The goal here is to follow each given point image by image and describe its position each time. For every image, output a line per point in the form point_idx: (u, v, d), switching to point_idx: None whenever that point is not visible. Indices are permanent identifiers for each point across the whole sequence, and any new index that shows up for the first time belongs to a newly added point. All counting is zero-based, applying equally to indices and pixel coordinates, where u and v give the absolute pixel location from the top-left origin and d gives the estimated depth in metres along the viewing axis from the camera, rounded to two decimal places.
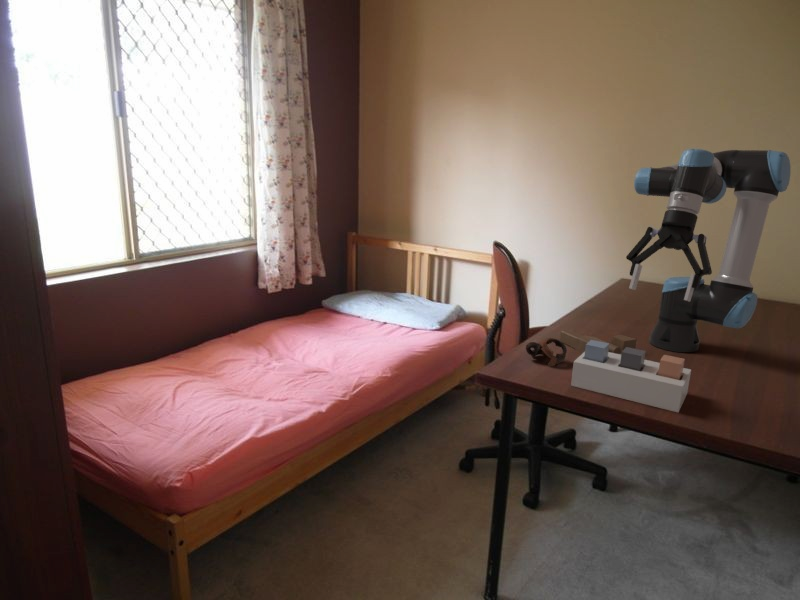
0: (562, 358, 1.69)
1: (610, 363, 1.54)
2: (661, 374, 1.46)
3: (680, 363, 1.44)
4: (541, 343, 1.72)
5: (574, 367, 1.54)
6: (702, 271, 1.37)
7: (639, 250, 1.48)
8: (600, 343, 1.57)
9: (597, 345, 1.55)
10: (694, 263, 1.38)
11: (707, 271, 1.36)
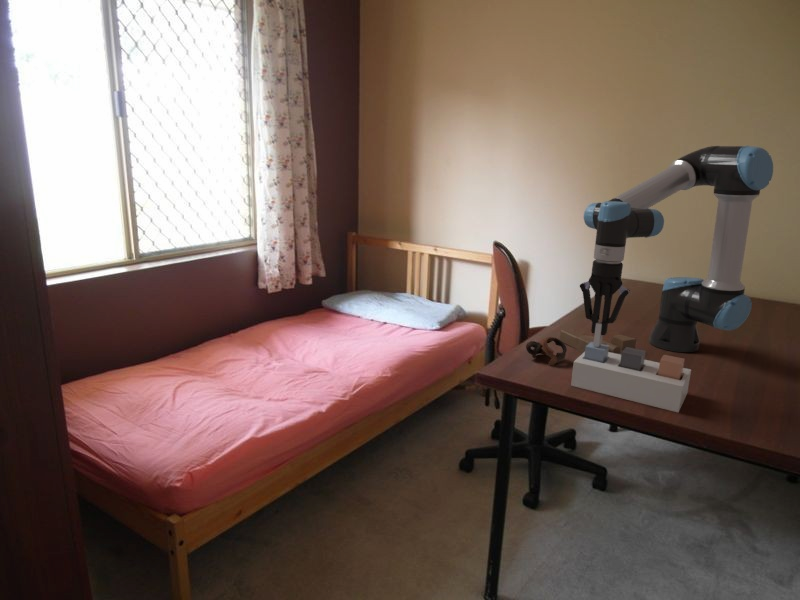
0: (562, 357, 1.70)
1: (610, 363, 1.54)
2: (661, 374, 1.46)
3: (680, 363, 1.44)
4: (541, 342, 1.73)
5: (574, 367, 1.54)
6: (607, 323, 1.53)
7: (590, 305, 1.55)
8: (600, 345, 1.57)
9: (597, 347, 1.55)
10: (606, 314, 1.52)
11: (611, 322, 1.52)
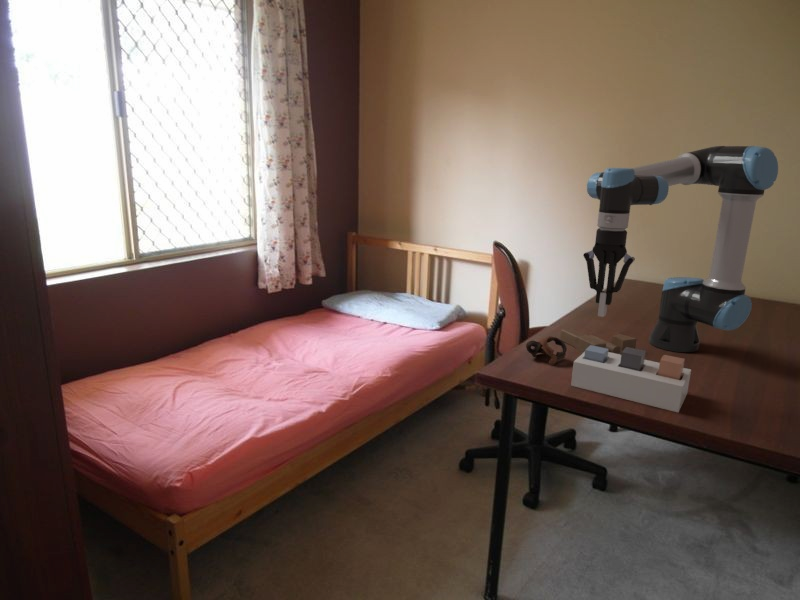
0: (562, 356, 1.71)
1: (610, 363, 1.54)
2: (661, 374, 1.46)
3: (680, 363, 1.44)
4: (541, 342, 1.73)
5: (574, 367, 1.54)
6: (612, 292, 1.51)
7: (594, 274, 1.53)
8: (599, 348, 1.57)
9: (596, 350, 1.56)
10: (610, 283, 1.50)
11: (616, 291, 1.50)
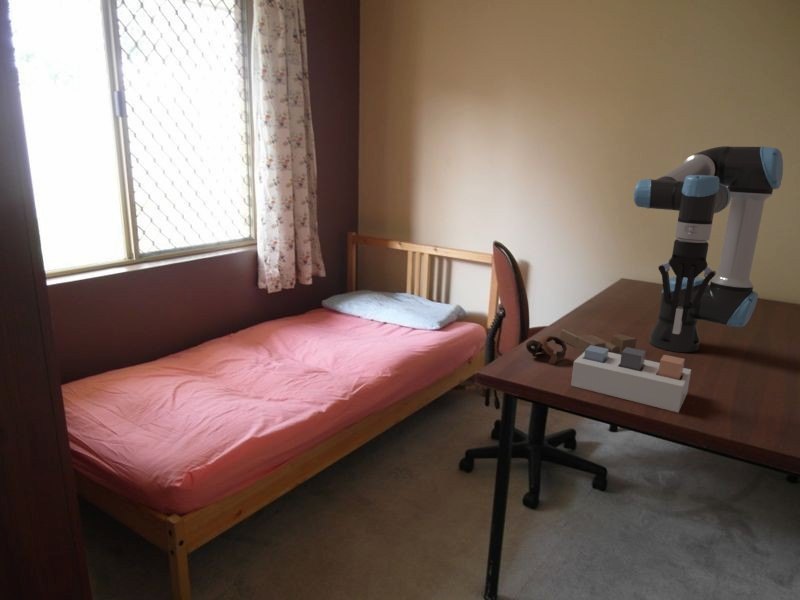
0: (562, 356, 1.71)
1: (610, 363, 1.54)
2: (661, 374, 1.46)
3: (680, 363, 1.44)
4: (541, 341, 1.74)
5: (574, 367, 1.54)
6: (689, 308, 1.41)
7: (669, 289, 1.43)
8: (599, 348, 1.57)
9: (596, 350, 1.56)
10: (688, 298, 1.40)
11: (694, 307, 1.40)
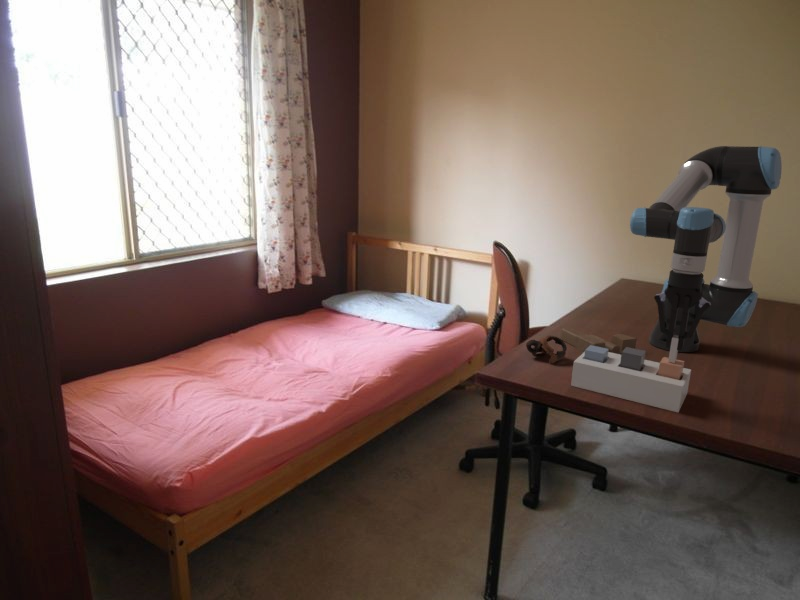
0: (562, 355, 1.72)
1: (610, 363, 1.54)
2: None
3: (680, 365, 1.44)
4: (541, 341, 1.74)
5: (574, 367, 1.54)
6: (685, 337, 1.43)
7: (665, 318, 1.45)
8: (599, 348, 1.57)
9: (596, 350, 1.56)
10: (683, 328, 1.42)
11: (689, 336, 1.42)
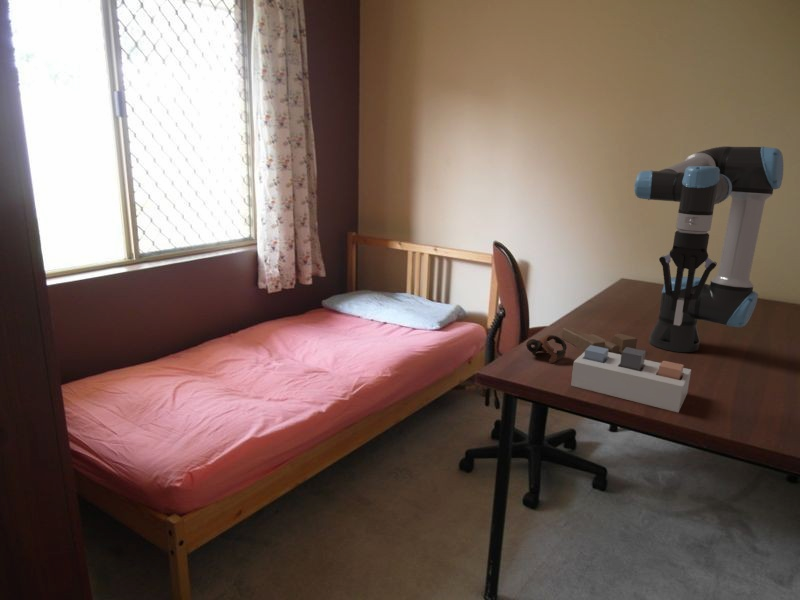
0: (562, 355, 1.72)
1: (610, 363, 1.54)
2: None
3: (679, 369, 1.44)
4: (541, 340, 1.74)
5: (574, 367, 1.54)
6: (690, 299, 1.41)
7: (670, 280, 1.43)
8: (599, 348, 1.57)
9: (596, 350, 1.56)
10: (689, 289, 1.40)
11: (695, 298, 1.40)
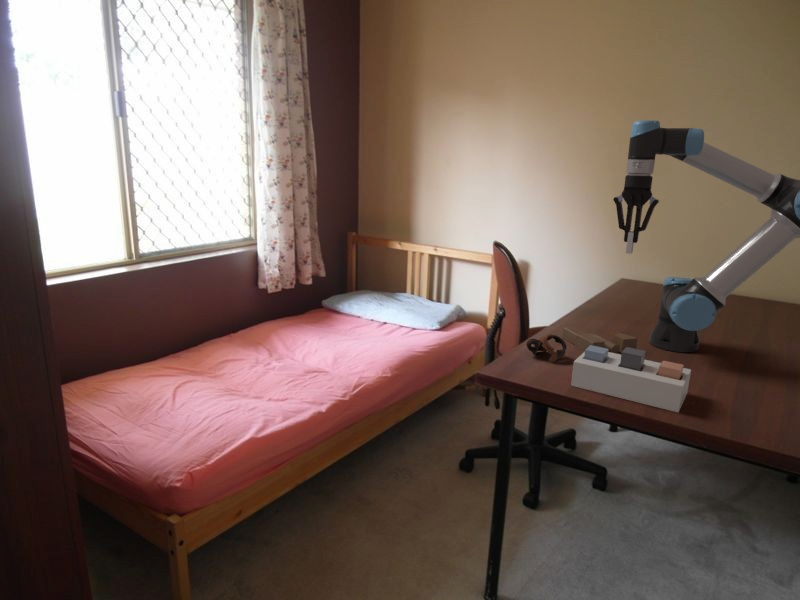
0: (562, 354, 1.73)
1: (610, 363, 1.54)
2: None
3: (679, 369, 1.44)
4: (541, 339, 1.75)
5: (574, 367, 1.54)
6: (639, 231, 1.72)
7: (622, 216, 1.75)
8: (599, 348, 1.57)
9: (596, 350, 1.56)
10: (637, 223, 1.71)
11: (642, 229, 1.71)
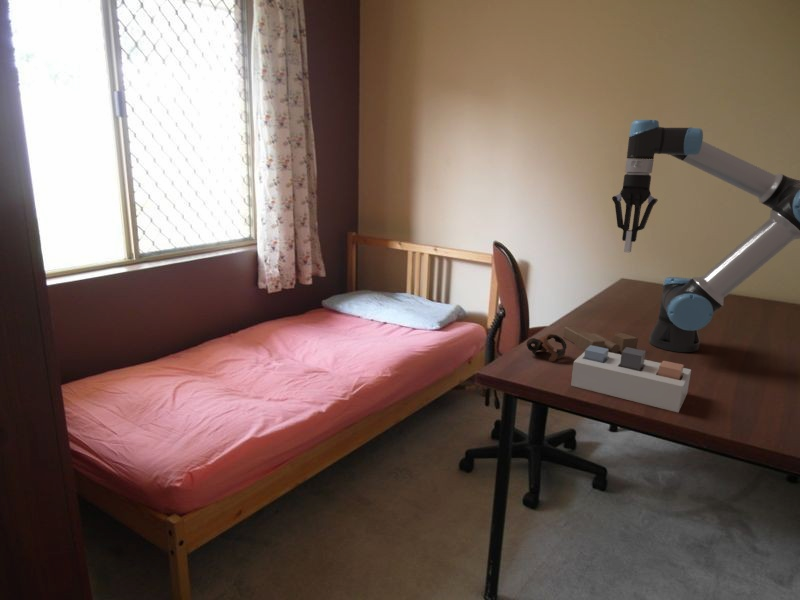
0: (562, 353, 1.73)
1: (610, 363, 1.54)
2: None
3: (679, 369, 1.44)
4: (541, 339, 1.75)
5: (574, 367, 1.54)
6: (637, 230, 1.73)
7: (621, 215, 1.75)
8: (599, 348, 1.57)
9: (596, 350, 1.56)
10: (636, 222, 1.72)
11: (640, 228, 1.72)
